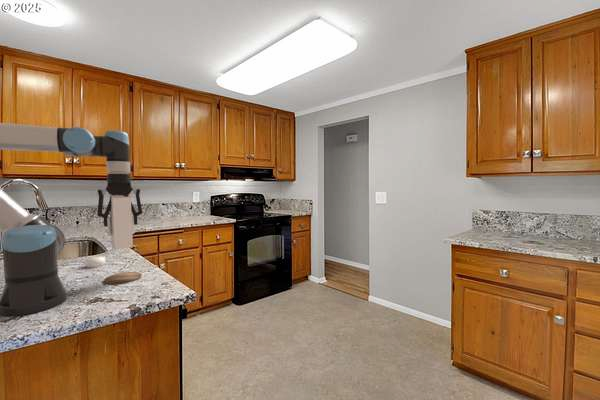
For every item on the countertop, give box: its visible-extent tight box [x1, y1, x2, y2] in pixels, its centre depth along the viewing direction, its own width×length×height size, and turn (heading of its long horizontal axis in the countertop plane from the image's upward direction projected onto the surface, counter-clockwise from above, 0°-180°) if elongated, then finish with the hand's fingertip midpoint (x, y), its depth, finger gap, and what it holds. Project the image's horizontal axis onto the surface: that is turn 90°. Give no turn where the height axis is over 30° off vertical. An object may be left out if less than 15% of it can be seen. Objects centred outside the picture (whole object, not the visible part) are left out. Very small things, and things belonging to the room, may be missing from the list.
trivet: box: [104, 271, 142, 285], centre depth 110 cm, size 12×12×1 cm
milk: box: [108, 194, 134, 250], centre depth 109 cm, size 6×6×22 cm
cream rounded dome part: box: [85, 255, 106, 269], centre depth 128 cm, size 7×7×4 cm
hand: (121, 234), depth 109 cm, fingers closed on milk, 7 cm apart
